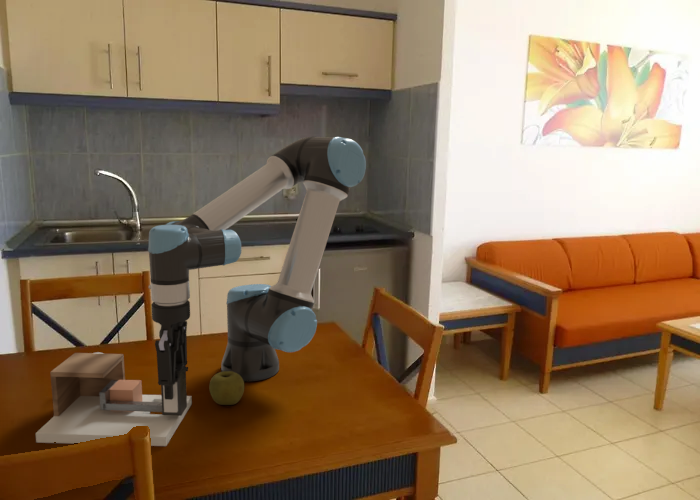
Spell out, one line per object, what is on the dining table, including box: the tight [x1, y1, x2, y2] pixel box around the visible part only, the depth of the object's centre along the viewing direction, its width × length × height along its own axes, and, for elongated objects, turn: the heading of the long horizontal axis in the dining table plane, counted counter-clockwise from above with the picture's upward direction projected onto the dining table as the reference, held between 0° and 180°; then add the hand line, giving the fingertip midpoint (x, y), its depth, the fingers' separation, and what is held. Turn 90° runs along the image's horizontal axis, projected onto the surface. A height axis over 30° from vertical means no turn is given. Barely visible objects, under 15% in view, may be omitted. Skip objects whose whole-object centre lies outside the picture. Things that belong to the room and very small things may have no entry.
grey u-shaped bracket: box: [99, 363, 188, 416], centre depth 120 cm, size 18×8×10 cm, turn 90°
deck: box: [35, 394, 193, 447], centre depth 120 cm, size 26×18×2 cm
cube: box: [110, 379, 143, 412], centre depth 122 cm, size 5×5×5 cm
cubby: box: [50, 352, 126, 417], centre depth 122 cm, size 11×10×10 cm
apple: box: [209, 371, 245, 406], centre depth 129 cm, size 8×8×7 cm
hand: (174, 405), depth 119 cm, fingers closed on grey u-shaped bracket, 4 cm apart
